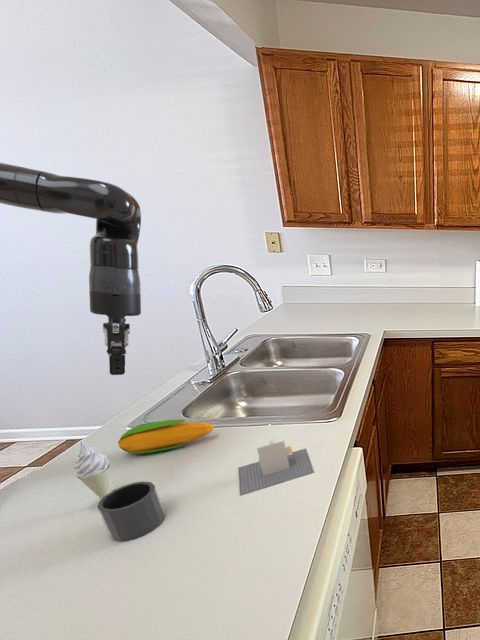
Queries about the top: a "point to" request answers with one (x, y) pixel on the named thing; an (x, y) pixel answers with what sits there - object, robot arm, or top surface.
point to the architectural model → (274, 467)
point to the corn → (162, 435)
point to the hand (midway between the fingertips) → (117, 370)
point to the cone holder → (131, 511)
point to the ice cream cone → (93, 470)
